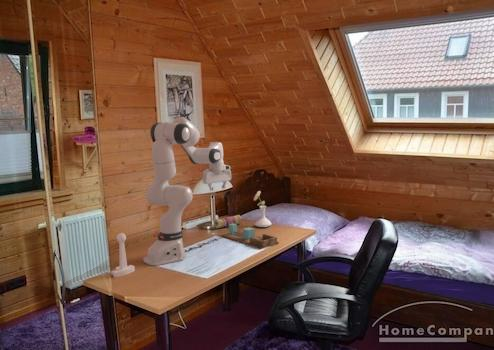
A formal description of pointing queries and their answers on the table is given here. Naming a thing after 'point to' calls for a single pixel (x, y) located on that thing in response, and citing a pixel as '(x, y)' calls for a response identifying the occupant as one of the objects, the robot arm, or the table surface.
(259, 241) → the lane board
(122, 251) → the joystick
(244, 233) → the block with cord
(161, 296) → the table surface
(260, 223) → the flower in vase
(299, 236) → the table surface
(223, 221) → the scroll
